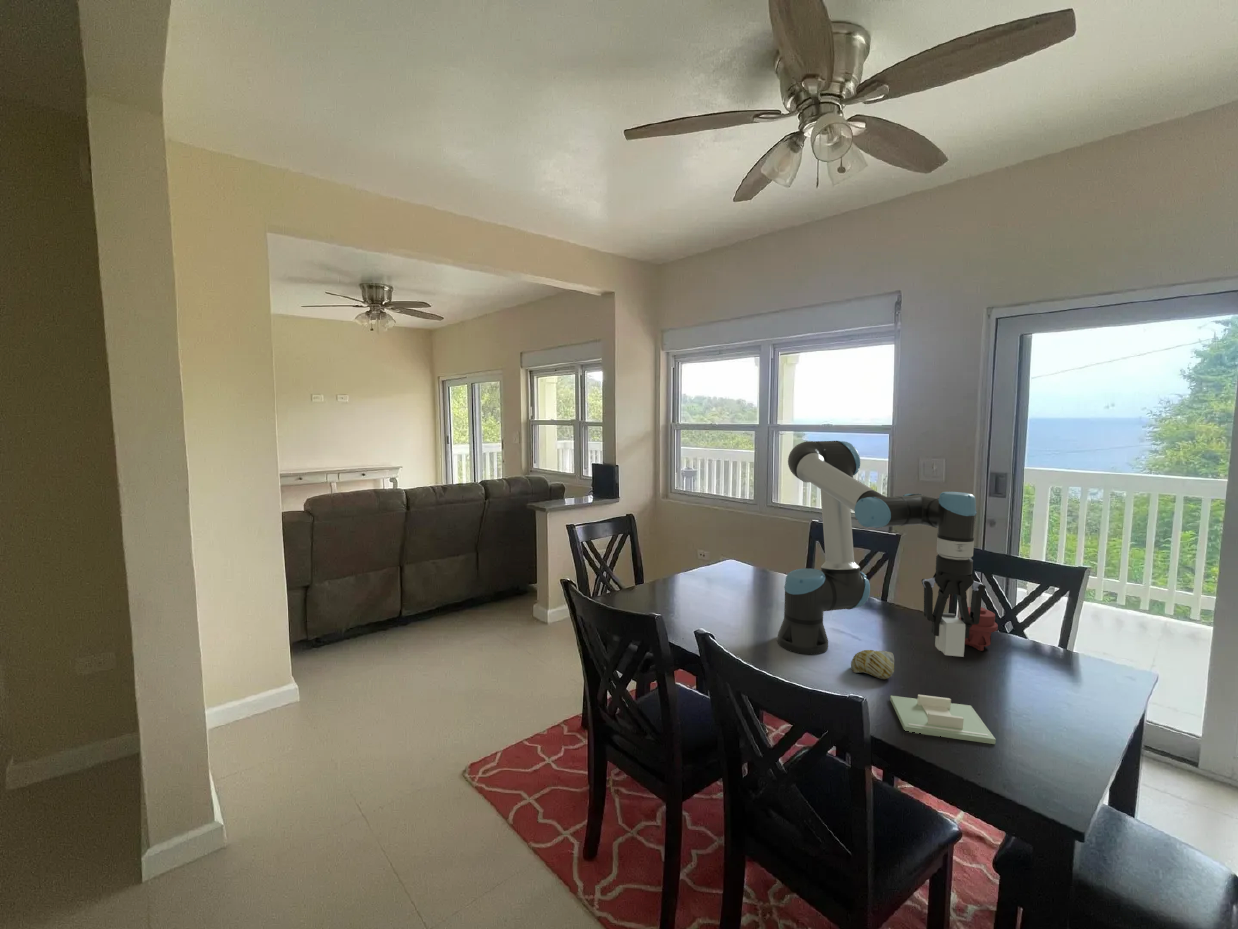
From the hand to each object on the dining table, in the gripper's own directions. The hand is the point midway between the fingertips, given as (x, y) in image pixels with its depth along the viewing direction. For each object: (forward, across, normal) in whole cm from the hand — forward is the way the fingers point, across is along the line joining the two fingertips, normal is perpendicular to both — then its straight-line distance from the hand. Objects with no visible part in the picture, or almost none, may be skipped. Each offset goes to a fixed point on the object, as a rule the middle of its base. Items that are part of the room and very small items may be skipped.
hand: (949, 649), depth 129 cm
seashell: (+15, -14, +14) cm, 25 cm away
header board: (+15, -4, -7) cm, 17 cm away
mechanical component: (+15, +23, +41) cm, 49 cm away
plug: (0, 0, 0) cm, 0 cm away
